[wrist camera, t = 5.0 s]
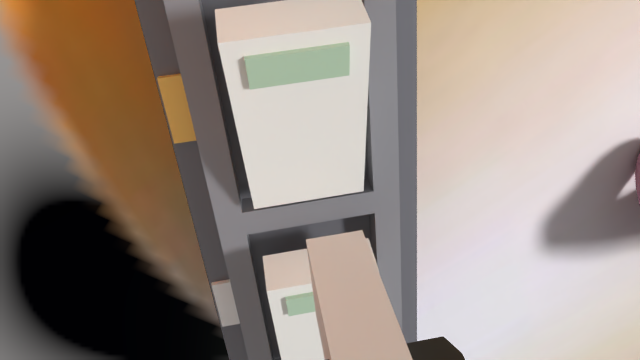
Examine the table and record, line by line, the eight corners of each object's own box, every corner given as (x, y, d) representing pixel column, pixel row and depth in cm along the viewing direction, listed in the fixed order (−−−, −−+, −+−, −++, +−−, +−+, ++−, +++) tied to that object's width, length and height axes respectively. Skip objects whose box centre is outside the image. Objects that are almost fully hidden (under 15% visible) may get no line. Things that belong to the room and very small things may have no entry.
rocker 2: (367, 338, 24) (377, 372, 23) (282, 354, 24) (287, 390, 23) (368, 238, 19) (380, 274, 18) (262, 256, 19) (266, 294, 18)
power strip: (394, 291, 29) (423, 362, 25) (234, 320, 28) (235, 398, 24) (373, -434, 15) (431, -562, 11) (54, -415, 14) (-21, -546, 10)
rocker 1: (353, 159, 20) (364, 194, 19) (250, 176, 20) (254, 212, 18) (357, -9, 15) (372, 25, 13) (214, 9, 14) (218, 46, 13)
